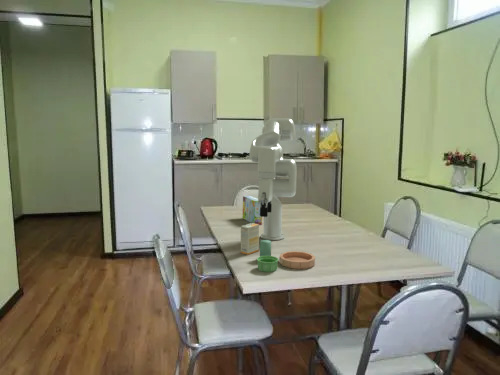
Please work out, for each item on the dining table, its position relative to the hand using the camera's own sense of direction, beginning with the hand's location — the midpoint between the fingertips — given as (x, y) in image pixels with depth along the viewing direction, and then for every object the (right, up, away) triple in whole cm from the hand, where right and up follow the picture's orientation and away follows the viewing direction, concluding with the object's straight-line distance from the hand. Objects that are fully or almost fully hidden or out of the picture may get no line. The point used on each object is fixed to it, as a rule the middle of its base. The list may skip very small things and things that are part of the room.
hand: (265, 214), depth 178 cm
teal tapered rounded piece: (0, -20, +3) cm, 20 cm away
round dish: (+14, -21, -3) cm, 25 cm away
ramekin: (0, -22, -10) cm, 24 cm away
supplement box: (-7, -19, +13) cm, 24 cm away
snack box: (-6, -10, +77) cm, 78 cm away
